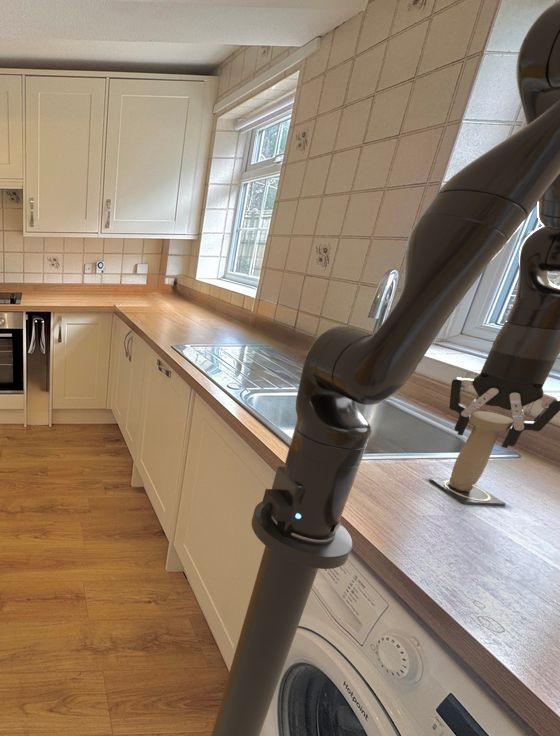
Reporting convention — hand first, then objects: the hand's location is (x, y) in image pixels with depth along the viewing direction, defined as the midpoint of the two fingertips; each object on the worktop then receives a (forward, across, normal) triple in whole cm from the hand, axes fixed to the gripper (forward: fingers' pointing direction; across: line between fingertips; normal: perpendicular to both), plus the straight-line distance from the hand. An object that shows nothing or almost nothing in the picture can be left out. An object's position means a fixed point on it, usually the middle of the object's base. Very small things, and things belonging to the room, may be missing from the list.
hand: (482, 439), depth 75 cm
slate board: (+11, +1, 0) cm, 11 cm away
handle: (+11, 0, 0) cm, 11 cm away
